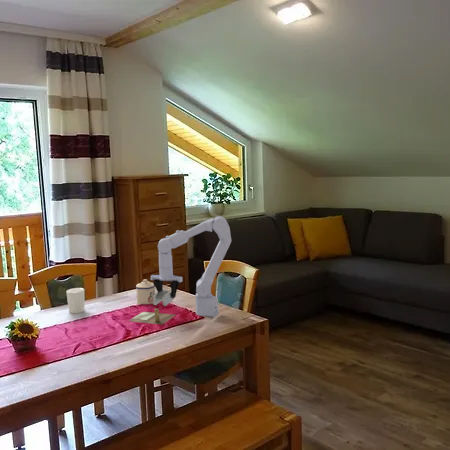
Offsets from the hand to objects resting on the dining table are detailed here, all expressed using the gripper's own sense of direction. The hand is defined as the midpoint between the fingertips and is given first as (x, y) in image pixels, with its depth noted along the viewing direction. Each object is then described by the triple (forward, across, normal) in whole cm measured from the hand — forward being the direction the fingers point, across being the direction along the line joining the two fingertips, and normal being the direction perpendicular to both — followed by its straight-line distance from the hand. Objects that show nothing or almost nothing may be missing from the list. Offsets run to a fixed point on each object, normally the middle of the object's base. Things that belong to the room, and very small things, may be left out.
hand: (167, 297), depth 214 cm
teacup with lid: (+9, -20, +16) cm, 27 cm away
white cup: (+9, -44, -5) cm, 46 cm away
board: (+9, -4, -6) cm, 11 cm away
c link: (+1, 0, -3) cm, 3 cm away
